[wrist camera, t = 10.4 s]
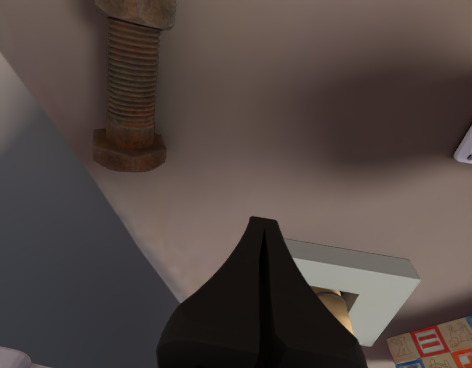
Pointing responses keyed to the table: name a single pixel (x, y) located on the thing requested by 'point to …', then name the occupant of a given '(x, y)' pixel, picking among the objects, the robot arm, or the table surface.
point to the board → (358, 283)
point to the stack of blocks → (434, 346)
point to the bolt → (132, 84)
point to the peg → (334, 304)
